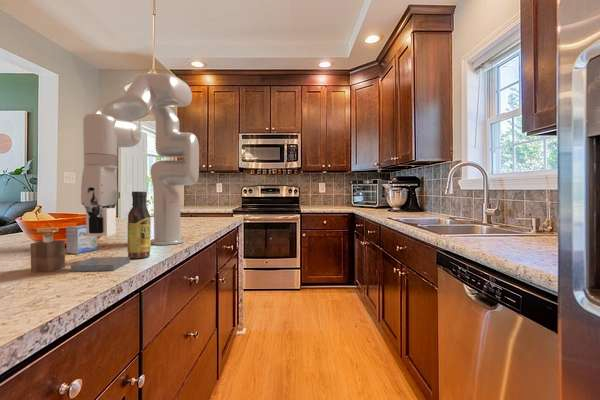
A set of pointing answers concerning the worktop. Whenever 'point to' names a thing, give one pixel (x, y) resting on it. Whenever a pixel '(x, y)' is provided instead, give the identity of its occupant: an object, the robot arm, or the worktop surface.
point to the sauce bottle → (139, 227)
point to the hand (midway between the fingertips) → (101, 231)
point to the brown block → (47, 256)
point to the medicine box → (79, 240)
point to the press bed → (100, 264)
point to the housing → (104, 222)
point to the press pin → (47, 233)
